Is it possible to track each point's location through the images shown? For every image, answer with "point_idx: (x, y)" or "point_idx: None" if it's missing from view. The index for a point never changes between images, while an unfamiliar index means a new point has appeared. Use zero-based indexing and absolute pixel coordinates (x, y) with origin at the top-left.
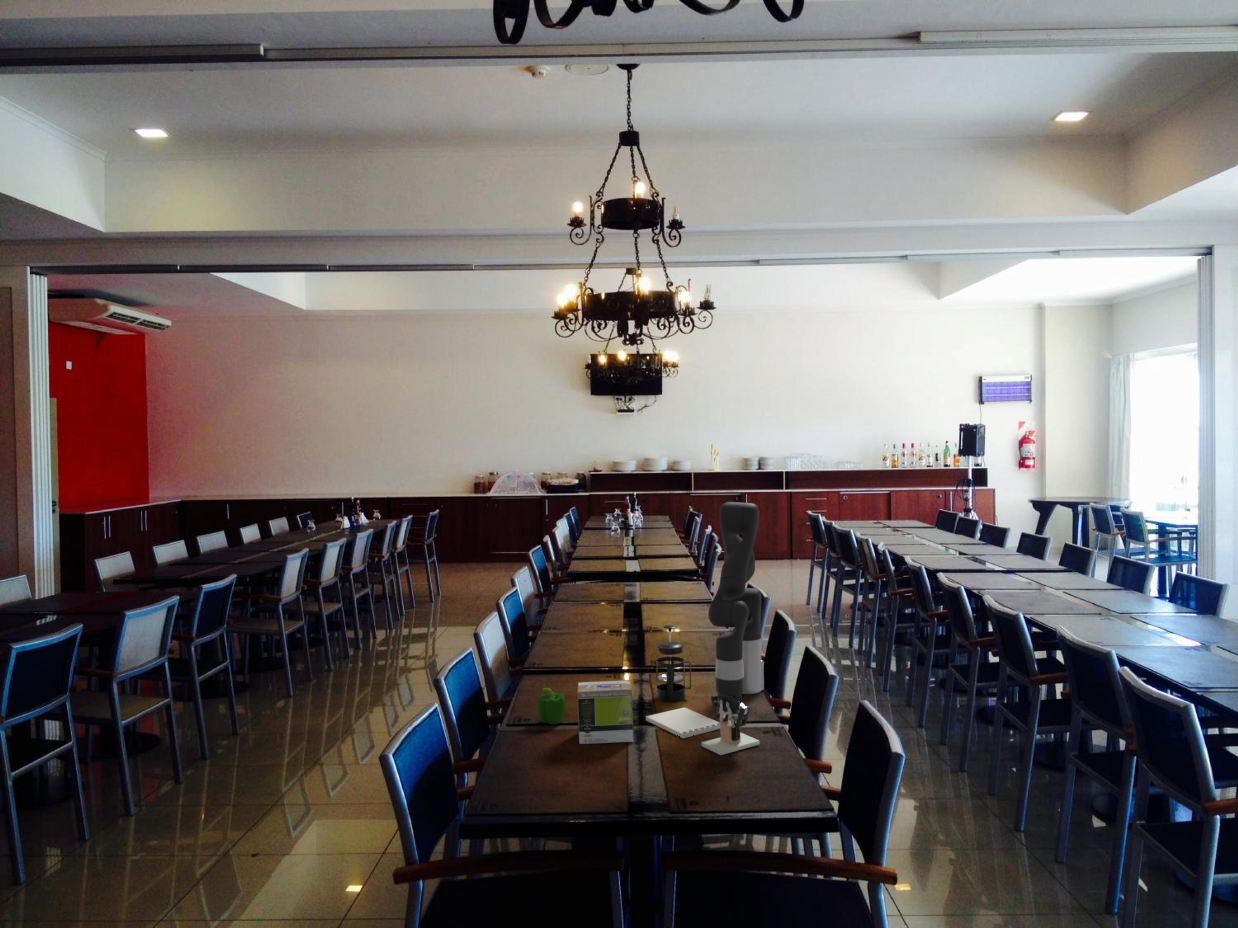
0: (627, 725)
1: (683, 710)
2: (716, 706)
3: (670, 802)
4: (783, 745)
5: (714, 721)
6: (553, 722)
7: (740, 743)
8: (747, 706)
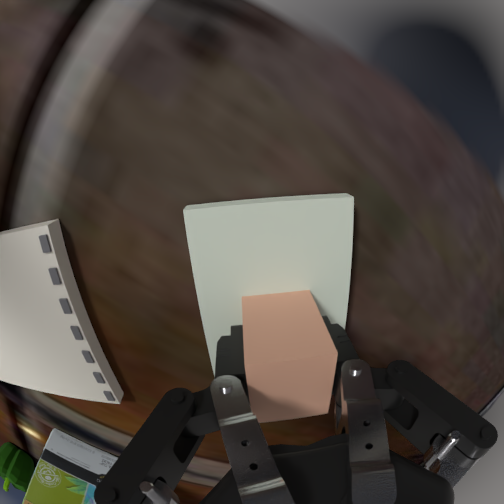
0: None
1: None
2: (177, 477)
3: None
4: (404, 103)
5: (17, 239)
6: (32, 462)
7: (324, 299)
8: (487, 449)
